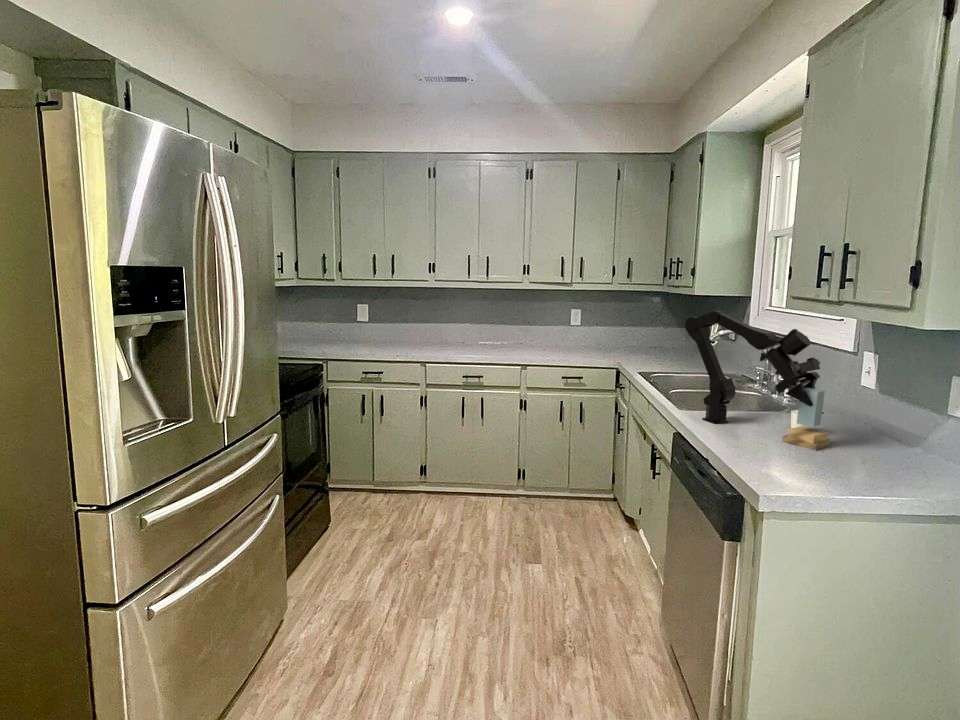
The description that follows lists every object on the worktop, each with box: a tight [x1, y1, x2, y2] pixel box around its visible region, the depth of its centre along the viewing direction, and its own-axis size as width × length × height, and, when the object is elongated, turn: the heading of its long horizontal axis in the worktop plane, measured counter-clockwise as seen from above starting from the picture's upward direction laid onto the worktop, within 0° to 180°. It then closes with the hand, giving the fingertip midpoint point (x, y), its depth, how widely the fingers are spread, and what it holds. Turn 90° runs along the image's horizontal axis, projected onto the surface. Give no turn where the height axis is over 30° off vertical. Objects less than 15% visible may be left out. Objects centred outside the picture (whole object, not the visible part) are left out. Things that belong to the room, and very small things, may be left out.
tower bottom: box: [781, 434, 831, 451], centre depth 181 cm, size 10×10×2 cm
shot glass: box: [790, 409, 812, 429], centre depth 193 cm, size 7×7×7 cm
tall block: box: [797, 388, 826, 428], centre depth 179 cm, size 5×5×11 cm
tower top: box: [787, 426, 829, 444], centre depth 180 cm, size 8×8×2 cm
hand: (815, 404), depth 178 cm, fingers closed on tall block, 5 cm apart
